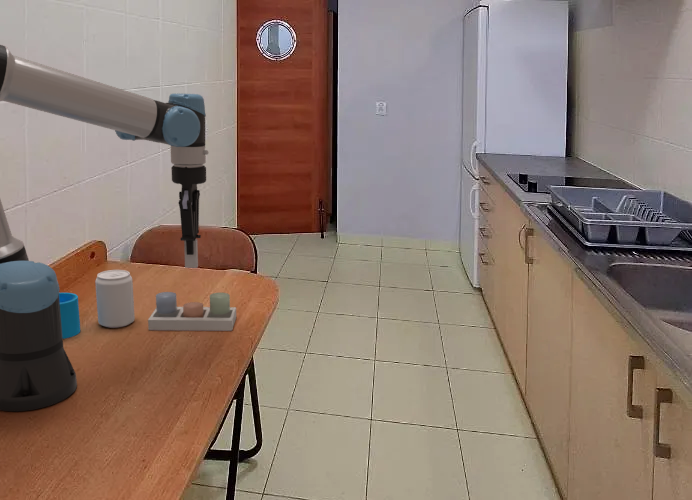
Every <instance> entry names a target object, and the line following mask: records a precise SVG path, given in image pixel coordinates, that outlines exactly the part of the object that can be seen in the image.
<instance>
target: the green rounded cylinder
mask: <svg viewBox="0 0 692 500" xmlns="http://www.w3.org/2000/svg"><path fill="white" fill-rule="evenodd" d="M230 298H231V297H230V294H229V293H226V292H214V293H211V294H210V295H209V307H210V312H211V313H213V314H226V313H228V312H229V311H230V307H231V303H230V301H231V299H230Z"/></svg>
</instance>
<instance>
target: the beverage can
mask: <svg viewBox="0 0 692 500" xmlns="http://www.w3.org/2000/svg"><path fill="white" fill-rule="evenodd" d="M96 275H97V276H96V279H95V283H94V284H95V295H96V296H95V298H96V309H97V312H96V313H97V321H98V324H99V325H100V326H103V327H105V328H111V329H114V328H122V327H123V328H124V327H126V326H128V325H130V324H131V323H133V322H134V321H135V300H134V299H135V298H134V284H133V277H132V276H131V273H130V271H128V270H124V269H111V270H110V269H109V270H103V271H101V272H98V273H97V274H96Z"/></svg>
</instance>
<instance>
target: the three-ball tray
mask: <svg viewBox="0 0 692 500" xmlns="http://www.w3.org/2000/svg"><path fill="white" fill-rule="evenodd" d="M203 314H204V317H203V318H191V317H184V314H183V306H177V311H176V312H173V313H169V314H161V313H158V312H157V309H156V308H155V309H154V310H153V312H152V313H151V315H150V316H149V317H148V320H147V324H148V325H147V327H148V328H147V329H148V331H195V332H196V331H197V332H198V331H201V332H203V331H206V332H207V331H208V332H211V331H213V332H215V331H216V332H217V331H218V332H219V331H220V332H223V331H224V332H225V331H227V332H233V328H234V326H235V323H236V319H237V307H235V306H234V307H231V306H230V311H229V312H228V313H226V314H213V313H211V312H210V306H203Z"/></svg>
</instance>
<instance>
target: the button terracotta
mask: <svg viewBox="0 0 692 500" xmlns="http://www.w3.org/2000/svg"><path fill="white" fill-rule="evenodd" d="M182 307H183V314H184V317H191V318H203V317H204V314H203V307H204V303H203V302H198V301H190V302H186V303H184V304H183V305H182Z"/></svg>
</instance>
